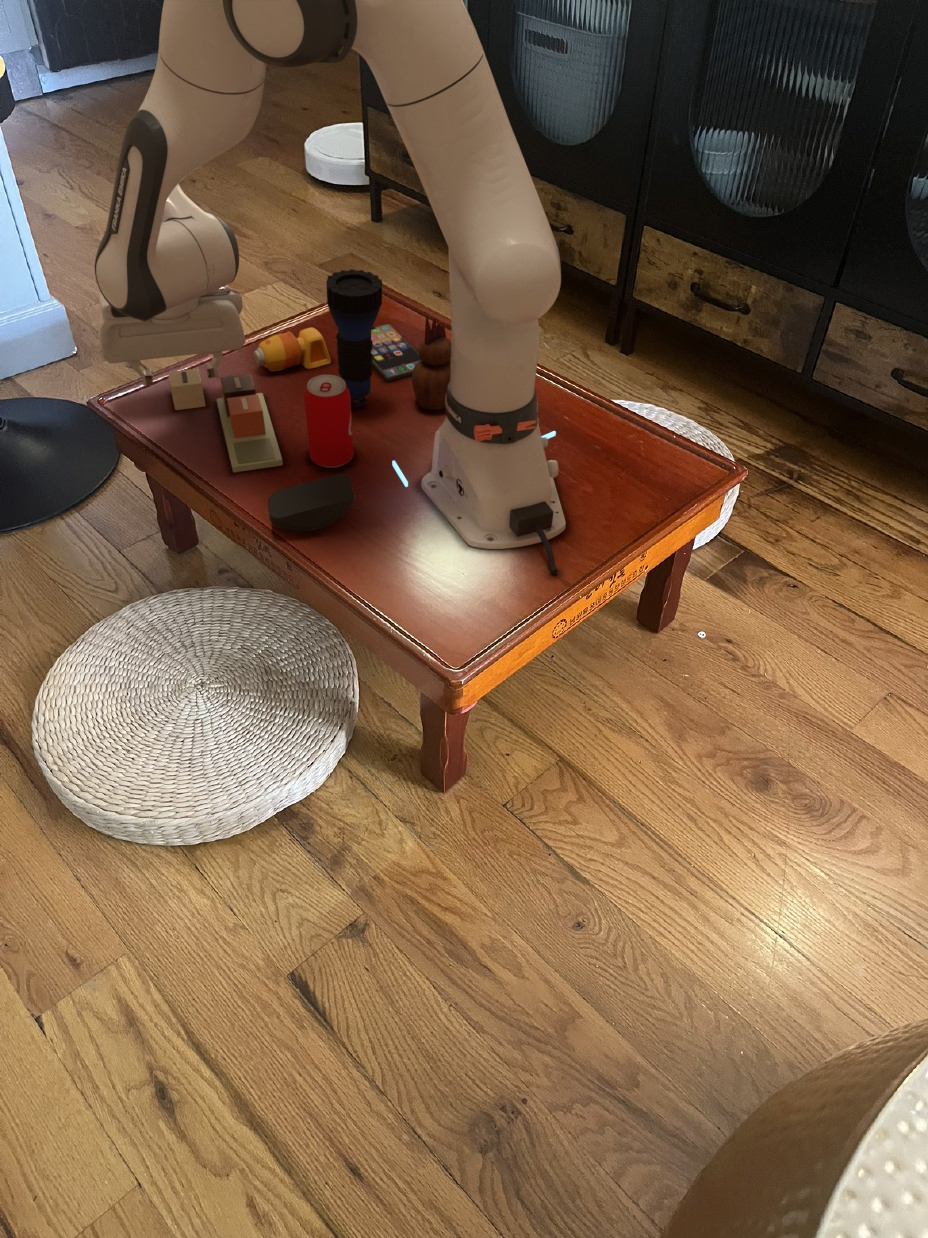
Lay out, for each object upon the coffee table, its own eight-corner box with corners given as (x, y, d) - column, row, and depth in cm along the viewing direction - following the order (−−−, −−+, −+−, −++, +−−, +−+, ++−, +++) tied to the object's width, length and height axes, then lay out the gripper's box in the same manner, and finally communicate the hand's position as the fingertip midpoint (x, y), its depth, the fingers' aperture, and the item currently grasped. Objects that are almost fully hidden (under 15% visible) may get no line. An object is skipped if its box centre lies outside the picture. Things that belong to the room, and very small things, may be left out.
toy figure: (264, 381, 148) (333, 362, 152) (259, 350, 144) (330, 331, 148) (251, 365, 151) (319, 348, 155) (246, 334, 147) (316, 317, 151)
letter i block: (205, 406, 142) (201, 382, 139) (175, 410, 141) (170, 386, 138) (202, 391, 145) (198, 367, 142) (172, 394, 144) (167, 370, 141)
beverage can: (357, 447, 136) (353, 374, 127) (349, 472, 131) (345, 398, 123) (314, 443, 136) (308, 370, 128) (305, 468, 132) (298, 394, 123)
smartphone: (387, 381, 149) (387, 374, 148) (347, 339, 158) (346, 332, 157) (431, 369, 152) (431, 363, 151) (389, 329, 161) (389, 322, 160)
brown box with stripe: (253, 396, 142) (250, 372, 139) (258, 412, 139) (255, 388, 136) (224, 400, 141) (220, 376, 138) (227, 416, 138) (223, 392, 135)
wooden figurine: (421, 418, 142) (422, 327, 131) (407, 399, 146) (406, 308, 135) (461, 409, 144) (465, 319, 133) (447, 391, 148) (449, 301, 137)
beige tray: (283, 465, 132) (279, 434, 129) (233, 472, 130) (227, 441, 127) (263, 398, 144) (259, 368, 140) (217, 404, 142) (212, 374, 139)
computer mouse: (268, 521, 118) (278, 545, 121) (354, 497, 119) (362, 522, 121) (265, 493, 123) (275, 517, 126) (348, 471, 123) (356, 495, 126)
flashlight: (395, 409, 143) (393, 284, 129) (353, 426, 140) (346, 300, 125) (365, 386, 148) (360, 263, 133) (323, 403, 144) (313, 278, 130)
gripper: (236, 274, 135) (247, 360, 145) (87, 287, 130) (109, 376, 139) (243, 294, 131) (253, 381, 140) (89, 309, 125) (111, 398, 135)
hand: (180, 379), depth 140 cm, fingers open, 8 cm apart
